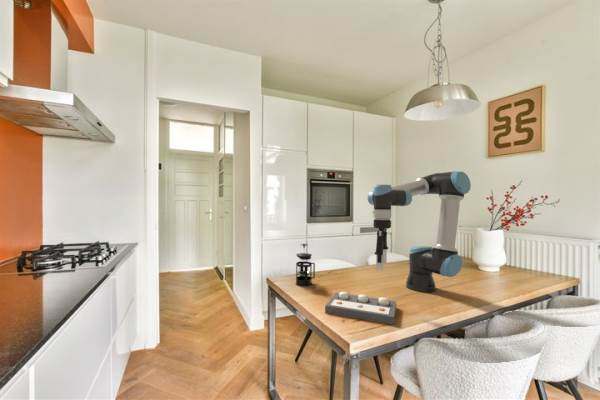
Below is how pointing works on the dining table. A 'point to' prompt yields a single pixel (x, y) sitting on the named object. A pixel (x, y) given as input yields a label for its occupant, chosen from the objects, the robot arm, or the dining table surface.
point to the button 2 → (384, 301)
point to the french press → (304, 278)
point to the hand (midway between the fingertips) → (381, 266)
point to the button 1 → (343, 295)
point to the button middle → (363, 298)
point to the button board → (362, 309)
